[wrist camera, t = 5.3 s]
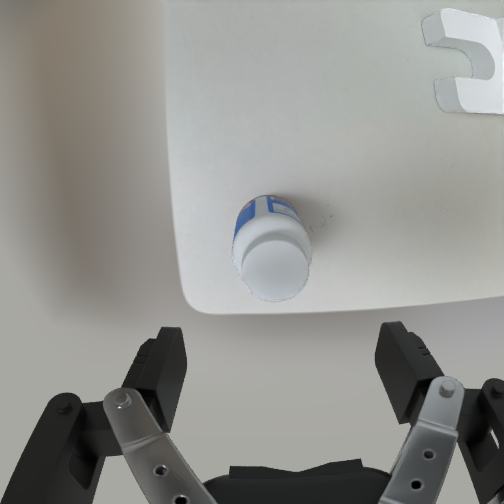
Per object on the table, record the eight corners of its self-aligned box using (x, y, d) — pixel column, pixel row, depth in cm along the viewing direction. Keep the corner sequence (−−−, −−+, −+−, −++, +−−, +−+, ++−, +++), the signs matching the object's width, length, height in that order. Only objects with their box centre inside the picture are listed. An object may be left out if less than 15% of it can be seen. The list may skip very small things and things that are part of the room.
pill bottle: (246, 261, 29) (242, 321, 20) (228, 204, 27) (213, 243, 18) (306, 245, 28) (327, 299, 19) (291, 187, 27) (308, 217, 17)
